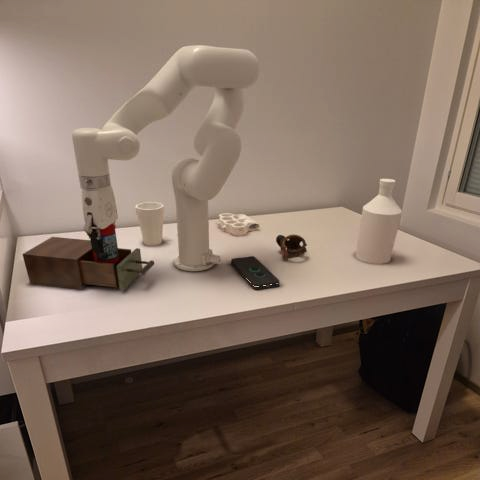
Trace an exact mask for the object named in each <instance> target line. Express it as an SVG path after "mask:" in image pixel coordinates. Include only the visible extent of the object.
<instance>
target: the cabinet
mask: <svg viewBox="0 0 480 480" xmlns="http://www.w3.org/2000/svg"><path fill="white" fill-rule="evenodd" d="M91 251H92V246H91V240H90V239H83V238H82V239H80V238H69V237H59V236H51V237H49V238H47V239H46V240H43V241H42V242H41V243H39V244H37V245H35V246H34V247H32V248H31V249H29V250H27V251H25V252H23V253H21V255H22V258H23V263H24V265H25V266H24V267H25V270H26V273H27V277H28V280H29V284H30V285H36V286H37V285H38V286H45V287H46V286H47V287H48V286H49V287H56V288H64V289H74V290H84V289H85V288H86V287H87V286H88V285H89V284H83V282H82V277H81V272H80V267H79V262H78V261H79V260H81V259H82V258H83V257H85V256H86V255H87V254H89V253H90V252H91Z"/></svg>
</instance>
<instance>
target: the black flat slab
mask: <svg viewBox="0 0 480 480" xmlns="http://www.w3.org/2000/svg"><path fill="white" fill-rule="evenodd" d="M230 265H231V266H232V267H233V268H234V270H235V271H236V272H237V273H238V274H239V275H240V276H241V277H242V278H243V280H244V281H245V282H246V283H247V284H248V285H249V286H250V287H251V289H252V290H254V291H258V290H265V289H271V288H278V287H279V286H280V280H279V278H278V277H276V276H275V275H274V273H272V272H271V270H269V269H268V268H267V267H266V266H265V265H264V264H263V263H262V262H261V261H260V260H258V259H257V257H255V256H254V255H250V256H249V255H248V256H242V257H235V258H234V257H233V258H231V259H230ZM246 278H247V279H248V280H249V281H250V282H251V283H250V282H249V281H248V280H247V279H246ZM276 283H279V284H276ZM270 284H272V285H270ZM253 285H254V286H259V287H254V286H253ZM263 285H266V286H263Z"/></svg>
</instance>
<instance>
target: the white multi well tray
mask: <svg viewBox="0 0 480 480" xmlns="http://www.w3.org/2000/svg"><path fill="white" fill-rule="evenodd" d="M215 224H216V225H218V226H219V228H220V229H222V230H223V232H225V233H228V234H231V235H232V236H245V235H247V233H248V232H253V231H256V230H258V229H260V226H261V225H260V223H259V222H257V221H255V220H254V219H252V218H251V217H250V216H248V215H246V214H245V213H243V214H242V213H241V214H235V213H234V214H233V213H228V212H226V213H220V214H219V215H218V222H216V223H215Z"/></svg>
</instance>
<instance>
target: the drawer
mask: <svg viewBox="0 0 480 480" xmlns="http://www.w3.org/2000/svg"><path fill="white" fill-rule="evenodd" d="M118 254H119V261H118V262H117V263H115V264H111V263H101V262H95V261H94V256H93V251H91V252H90V253H89V254H87V255H86V256H85V257H83V258H82V259H81V260H79V261H78V262H79V267H80V272H81V277H82V282H83V284H88V285H92V286H102V287H110V288H117V287H119V290H120V291H125V290H126V289H127V288H128V287H130V285H131V284H132V283H133V282H134V281H135V280H136V279H137V278H138V277H139V276H140V275H141V276H145V275H146V274H147V273H148V272H149V270H151V269H152V267H154V265H155V261H154V260H151V259H150V260H149V261H145V260H142V253H141V248H137V247H136V248H135V249H133V251H132V249H131V248H121V247H118ZM143 265H144V267H143Z"/></svg>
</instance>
